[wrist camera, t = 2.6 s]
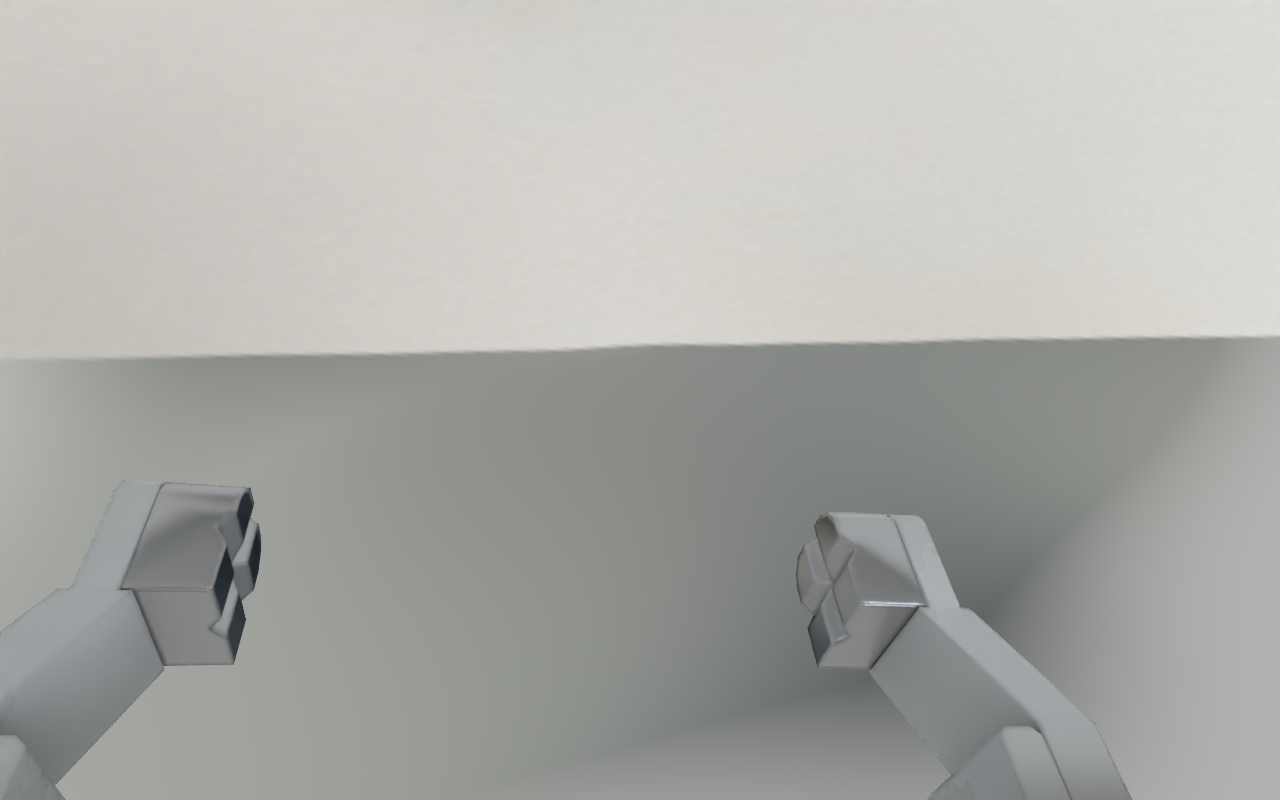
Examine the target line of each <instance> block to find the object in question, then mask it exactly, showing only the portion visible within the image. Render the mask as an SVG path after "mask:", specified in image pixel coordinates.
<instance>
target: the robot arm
mask: <svg viewBox="0 0 1280 800" xmlns="http://www.w3.org/2000/svg"><path fill="white" fill-rule="evenodd" d="M253 506H254V500H253V496H252V492H251V488H246V487H231V486H216V485H201V484H186V483H170V482H154V481H135V480H123V481H122V483H121V484H120V485H119V486H118V487H117V488H116V489H115V490H114V492H113V494H112V496H111V499H110V501H109V503H108V505H107V508H106V510H105V512H104V514H103V516H102V519H101V521H100V523H99V525H98V528H97V530H96V532H95V535H94V537H93V539H92V541H91V543H90V546H89V548H88V550H87V553H86V555H85V557H84V559H83V561H82V564H81V566H80V568H79V570H78V573H77V575H76V577H75V579H74V582H73V584H72V586H71V588H58V589H56V590H55V591H54V592H52V593H51V594H50V595H48V596H47V597H46V598H44V599H43V600H42V601H40V602H39V603H38V604H36V605H35V606H34V607H32V608H31V609H30V610H28V611H27V612H26V613H24V614H23V615H22V616H21V617H19V618H18V619H16V620H15V621H14V622H12V623H11V624H10V625H8V626H7V627H6V628H5V629H3V630H2V631H1V632H0V800H65V799H64V797H63V796H62V795H61V793H60V792H59V791H58V789H57V788H56V787H55V785H56V784H57V783H58V782H59V780H61V778H62V777H63V776H64V775H65V774H66V773H67V772H68V771H69V770H70V769H71V768H72V767H73V766H74V765H75V764H76V762H77V761H78V760H80V758H81V757H82V756H83V755H84V754H85V753H86V752H87V751H88V750H89V749H90V748H91V747H92V746H93V745H94V744H95V743H96V742H97V740H98V739H99V738H100V737H101V736H102V735H103V734H104V733H105V732H106V731H107V730H108V729H109V728H110V727H111V726H112V725H113V723H114V722H116V720H117V719H118V718H119V717H120V716H121V715H122V714H123V713H124V712H125V711H126V710H127V709H128V708H129V707H130V706H131V705H132V704H133V702H134V701H135V700H136V699H137V698H138V697H139V696H140V695H141V694H142V693H143V692H144V691H145V690H146V689H147V688H148V687H149V686H150V685H151V683H152V682H153V681H154V680H155V679H156V678H157V677H158V676H159V675H160V674H161V673H162V672H163V671H164V667H163V666H176V665H178V666H179V665H229V664H230V665H232V664H234V661H235V658H236V654H237V650H238V646H239V643H240V639H241V636H242V632H243V628H244V625H245V621H246V618H245V614H244V610H243V606H242V600H243V599H244V598H245V597H246V596H248V595H249V594H250V593H251V592H252V591H253V590H254V587H255V583H256V579H257V574H258V570H259V562H260V554H261V535H260V529H259V524H258V523H257V522H256V521H254V520H253V519H252V518H250V516H251V513H252V510H253ZM814 528H815V531H816V535H817V537H815V538H813V539H812V540H810V541H808V542H807V543H805V544H804V546H803V548H802V551H801V552H800V554H799V556H798V562H797V571H796V579H797V589H798V593H799V597H800V601H801V603H802V604H803V605H804V606H805V607H806V608H807V609H808V610H809V611H810V612H811V613H812V614H813V615H814V616H813V618H812V620H811V622H810V624H809V627H808V632H809V636H810V639H811V643H812V647H813V651H814V655H815V658H816V662H817V666H818V668H833V669H863V670H864V669H865V670H870V672H869V673H870V674H871V676H872V677H873V678H874V679H875V681H876V682H877V683H878V684H879V686H880V687H881V688H882V689H883V691H884V692H885V693H886V694H887V696H888V697H889V698H890V699H891V701H892V702H893V703H894V704H895V705H896V707H897V708H898V709H899V710H900V712H901V713H902V714H903V715H904V717H905V718H906V719H907V720H908V722H909V723H910V724H911V725H912V726H913V728H914V729H915V730H916V732H917V733H918V734H919V735H920V736H921V738H922V739H923V740H924V742H925V743H926V744H927V745H928V746H929V748H930V749H931V750H932V751H933V753H934V754H935V755H936V756H937V758H938V759H939V760H940V761H941V763H942V764H943V765H944V766H945V768H946V769H947V770H948V771H949V773H950V774H951V776H950V777H949V778H948V779H946V780H945V781H944V782H943V783H942V784H941V785H940V786H939V787H938V788H937V789H936V790H935V791H933V792H932V794H931V795H930V797H929V798H928V800H1132V798H1131V796H1130V794H1129V792H1128V790H1127V788H1126V786H1125V784H1124V782H1123V780H1122V778H1121V775H1120V773H1119V771H1118V769H1117V767H1116V765H1115V763H1114V761H1113V759H1112V757H1111V755H1110V753H1109V751H1108V748H1107V746H1106V744H1105V742H1104V740H1103V738H1102V736H1101V734H1100V732H1099V730H1098V728H1097V726H1096V724H1095V723H1094V722H1093V721H1092V720H1091V719H1090V718H1089V717H1088V716H1087V715H1085V714H1084V713H1083V712H1082V711H1081V710H1080V709H1079V708H1078V707H1077V706H1076V705H1075V704H1074V703H1072V702H1071V701H1070V700H1069V699H1068V698H1067V697H1066V696H1065V695H1064V694H1063V693H1061V692H1060V691H1059V690H1058V689H1057V688H1056V687H1055V686H1054V685H1053V684H1052V683H1051V682H1049V681H1048V680H1047V679H1046V678H1045V677H1044V676H1043V675H1042V674H1041V673H1039V672H1038V671H1037V670H1036V669H1035V668H1034V667H1033V666H1032V665H1031V664H1030V663H1029V662H1028V661H1026V660H1025V659H1024V658H1023V657H1022V656H1021V655H1020V654H1019V653H1018V652H1017V651H1015V650H1014V649H1013V648H1012V647H1011V646H1010V645H1009V644H1008V643H1007V642H1006V641H1004V640H1003V639H1002V638H1001V637H1000V636H999V635H998V634H997V633H996V632H994V631H993V630H992V629H991V628H990V627H989V626H988V625H987V624H986V623H985V622H983V620H982V619H980V618H979V617H978V616H977V615H976V614H975V613H974V612H973V611H972V610H971V609H969V608H960V606H959V603H958V601H957V598H956V596H955V594H954V591H953V589H952V586H951V584H950V582H949V579H948V577H947V574H946V572H945V570H944V567H943V565H942V562H941V560H940V558H939V555H938V553H937V550H936V548H935V546H934V543H933V541H932V539H931V536H930V534H929V531H928V529H927V526H926V524H925V522H924V521H923V520H922V519H921V518H920V517H919V516H909V515H885V514H877V513H843V512H826V513H824V514H822V515H821V516H820V517H819V519H818V520H817V522H816V524H815V526H814Z"/></svg>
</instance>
